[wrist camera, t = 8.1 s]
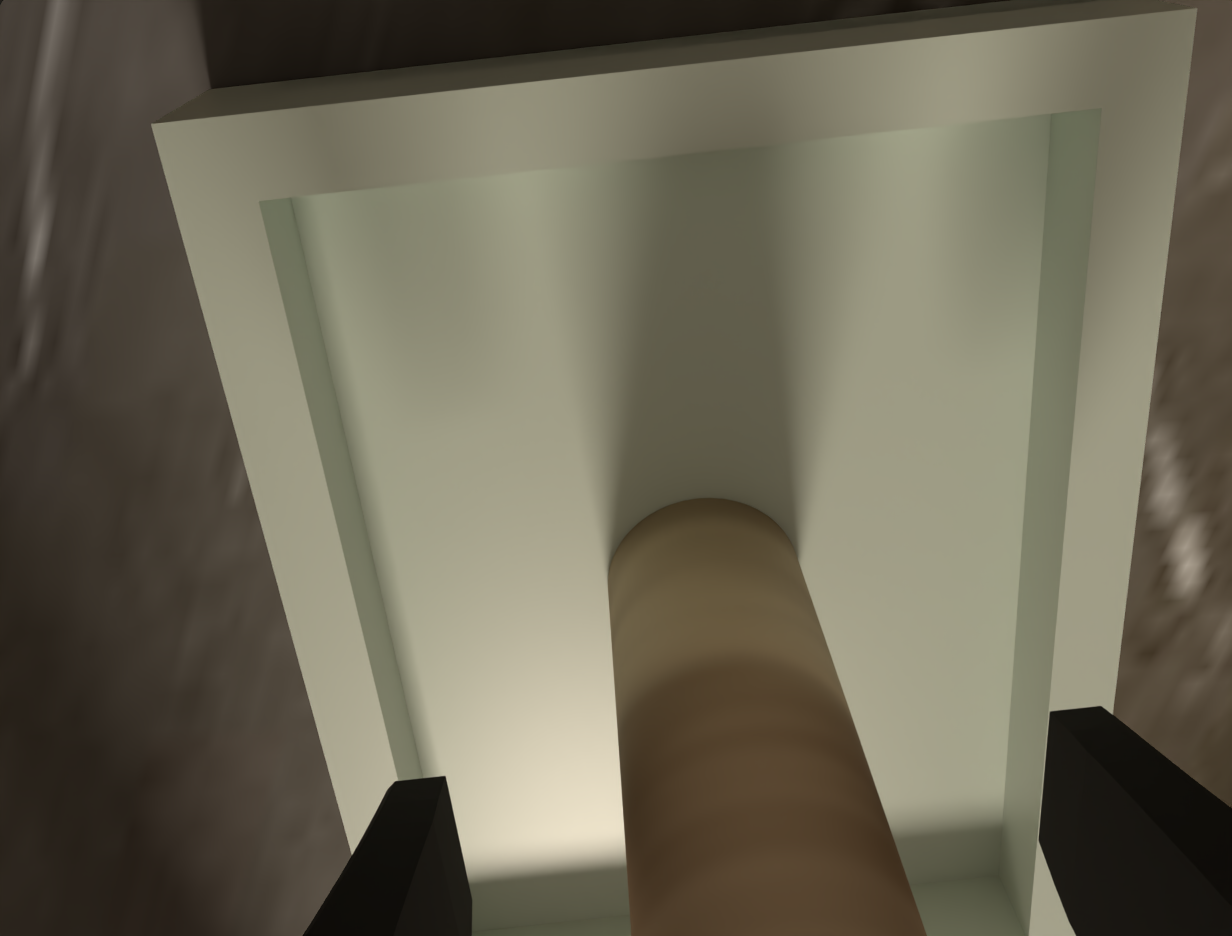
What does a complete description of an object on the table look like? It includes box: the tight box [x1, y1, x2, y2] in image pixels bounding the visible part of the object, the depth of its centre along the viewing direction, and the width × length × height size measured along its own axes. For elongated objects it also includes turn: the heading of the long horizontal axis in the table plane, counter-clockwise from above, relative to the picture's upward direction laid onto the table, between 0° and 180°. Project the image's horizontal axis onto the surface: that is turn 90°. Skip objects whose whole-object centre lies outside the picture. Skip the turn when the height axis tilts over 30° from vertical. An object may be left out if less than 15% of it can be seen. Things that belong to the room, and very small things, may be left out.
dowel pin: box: [608, 498, 927, 936], centre depth 15 cm, size 3×3×8 cm
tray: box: [151, 0, 1197, 936], centre depth 18 cm, size 16×12×2 cm
